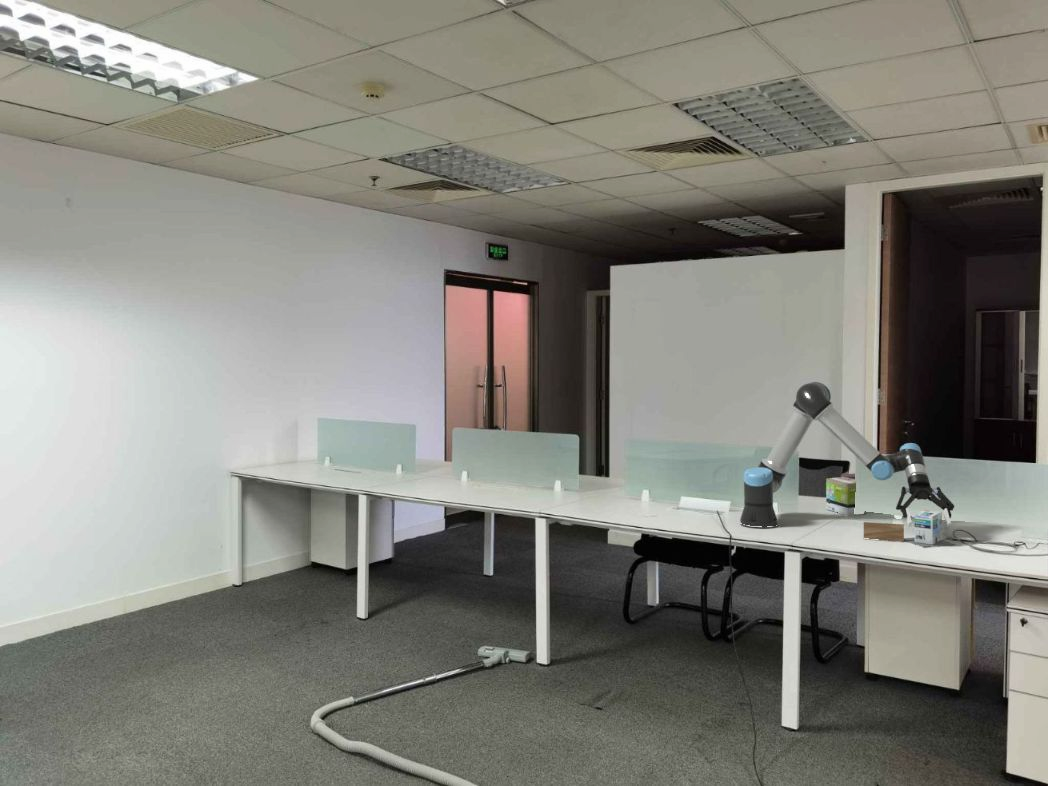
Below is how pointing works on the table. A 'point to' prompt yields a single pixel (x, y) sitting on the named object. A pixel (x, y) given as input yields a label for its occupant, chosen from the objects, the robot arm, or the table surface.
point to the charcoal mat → (940, 543)
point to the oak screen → (884, 531)
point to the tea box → (841, 495)
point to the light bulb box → (928, 527)
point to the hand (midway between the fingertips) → (929, 524)
